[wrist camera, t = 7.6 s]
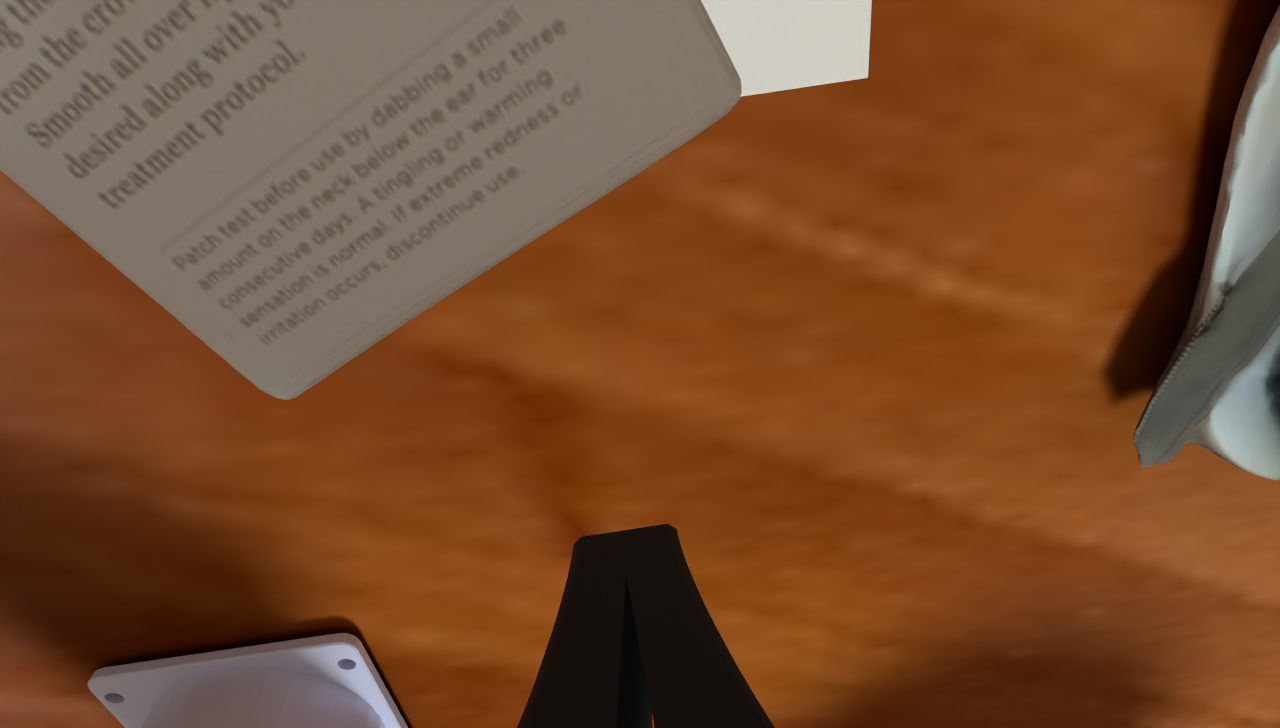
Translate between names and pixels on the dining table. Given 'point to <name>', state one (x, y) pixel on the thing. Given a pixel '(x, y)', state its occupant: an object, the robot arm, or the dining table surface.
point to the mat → (793, 41)
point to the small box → (337, 147)
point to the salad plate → (1232, 304)
